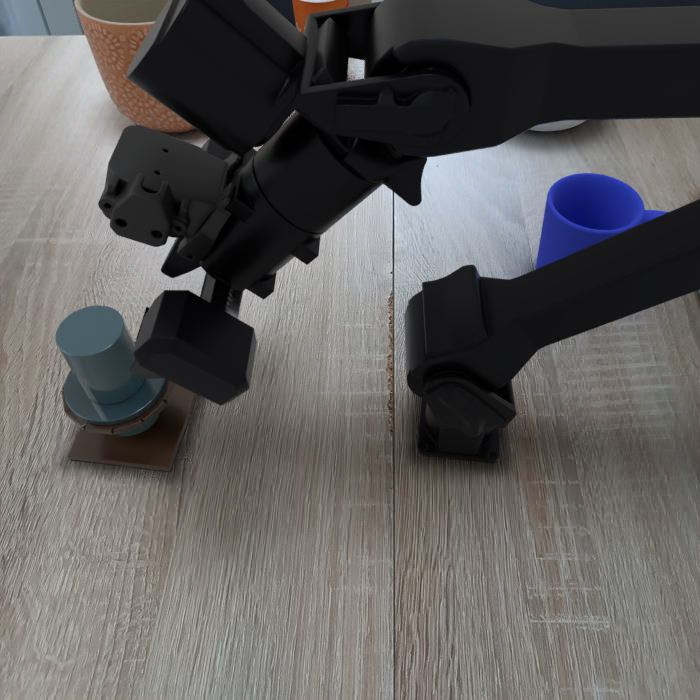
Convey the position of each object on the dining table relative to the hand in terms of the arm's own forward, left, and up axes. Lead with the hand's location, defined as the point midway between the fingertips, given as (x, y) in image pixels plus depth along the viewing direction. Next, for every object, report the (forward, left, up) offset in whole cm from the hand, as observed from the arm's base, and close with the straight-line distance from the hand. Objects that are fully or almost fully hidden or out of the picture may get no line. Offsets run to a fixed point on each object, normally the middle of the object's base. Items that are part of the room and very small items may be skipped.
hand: (152, 320), depth 45 cm
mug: (+20, -34, -13) cm, 42 cm away
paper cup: (+54, -2, -13) cm, 56 cm away
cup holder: (-1, +5, -13) cm, 14 cm away
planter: (+46, +16, -13) cm, 51 cm away
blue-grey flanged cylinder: (-1, +5, -12) cm, 13 cm away
